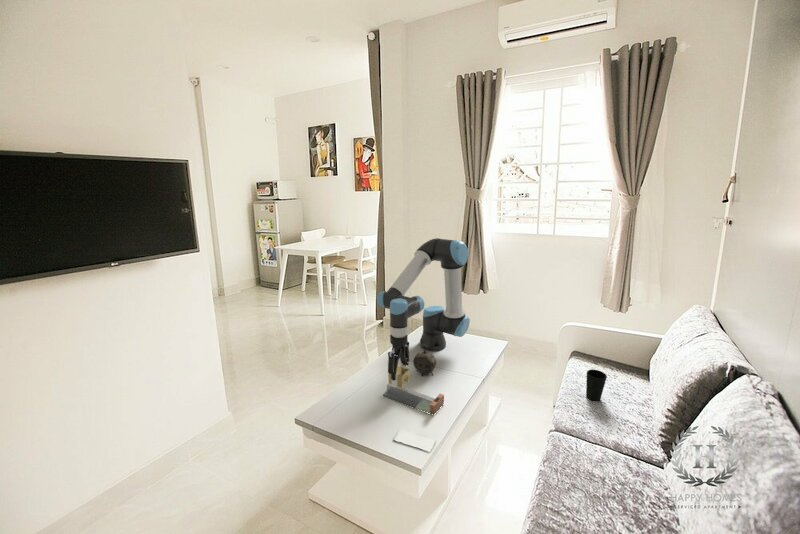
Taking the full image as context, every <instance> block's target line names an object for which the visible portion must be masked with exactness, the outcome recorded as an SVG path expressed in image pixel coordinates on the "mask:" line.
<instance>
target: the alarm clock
mask: <svg viewBox="0 0 800 534" xmlns="http://www.w3.org/2000/svg"><path fill="white" fill-rule="evenodd" d="M422 346H424V345H422ZM422 346H420V348H421V350H420V351H418V352H417V353H416V355H415V356H414V357H413V367H414V368H415V370H416V372H419V373H421V377H423V376H424V375H427V374H428V375H429V374H431V376H434V373H433V371H434V369H435V368H436V365H437V360H436V357H435V356H434V355H433V353H432V352H430V351H429V350H428V347H427V346H426V345H425V346H426V347H427V350H425V349H423V348H422Z"/></svg>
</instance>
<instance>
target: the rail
mask: <svg viewBox="0 0 800 534" xmlns="http://www.w3.org/2000/svg"><path fill="white" fill-rule="evenodd" d="M382 396H383V397H384V398H386V399H387V398H388V399H390V400H393V401H394V400H395V402H397V403H399V404H402V403H403V405H405V404H406V405H405V406H407V405H408V406H407V407H410V406H411V407H410V408H412V407H413V408H412V409H415V408H416V410H417V409H419V410H418V411H420V410H422V411H425V412H428V413H430V414H433V415H434V414H435V413H436V412H437V411H438V410H439V409H440V407H441V406H442V405H443V404H445V394H442V393H439V394H438V395H437V396H436V397H435V398H434V397H432V396H430V395H426V394H424V393H421V392H419V391H415V390H413V389H410V388H408V387H404V386H403V388H400V387H396V386H393V385H392V384H389V382H388V383H387V384H386V391H385V392H384V393H383V394H382ZM443 406H444V405H443ZM443 406H442V407H443ZM442 407H441V408H442ZM440 410H441V409H440ZM440 410H439V411H440ZM422 411H421V412H422ZM439 411H438V412H439ZM425 412H424V413H425ZM438 412H437V413H438ZM437 413H436V414H437ZM430 414H429V415H430Z"/></svg>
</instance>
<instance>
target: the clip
mask: <svg viewBox="0 0 800 534" xmlns="http://www.w3.org/2000/svg"><path fill="white" fill-rule="evenodd" d="M410 370H411V369H410V368H407V367H406V368H404V367H401V366H400V365H398V366H397V373H398V386H397V387H400V388H403V387H404V382H405V383H410V382H411V381H410V377H411V376H410V374H411V373H410ZM388 383H389V384H392V379H391V374H390V373H388Z"/></svg>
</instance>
